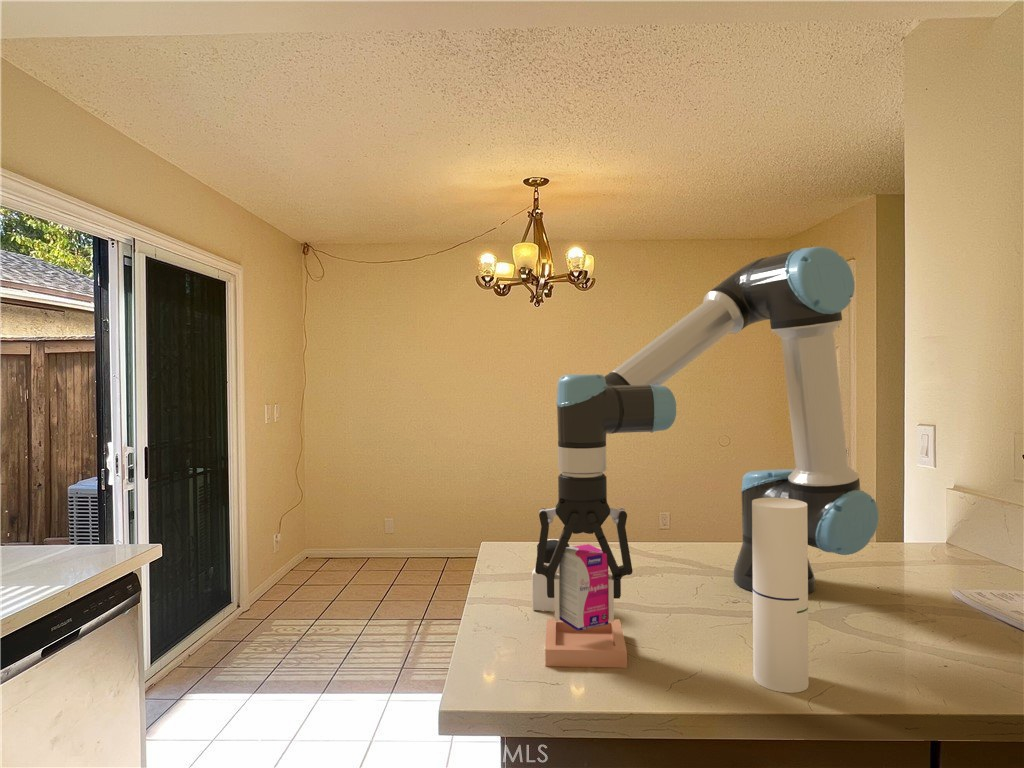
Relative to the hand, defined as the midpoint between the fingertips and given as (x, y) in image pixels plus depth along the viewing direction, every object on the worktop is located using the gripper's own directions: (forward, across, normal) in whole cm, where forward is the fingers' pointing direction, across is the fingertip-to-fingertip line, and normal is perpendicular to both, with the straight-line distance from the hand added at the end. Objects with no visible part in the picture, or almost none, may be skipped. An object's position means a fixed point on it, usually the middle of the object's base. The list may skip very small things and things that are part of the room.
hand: (583, 617), depth 102 cm
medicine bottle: (+5, +5, -19) cm, 20 cm away
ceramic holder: (+5, 0, 0) cm, 5 cm away
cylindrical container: (+5, -27, +9) cm, 29 cm away
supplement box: (+1, 0, 0) cm, 1 cm away
